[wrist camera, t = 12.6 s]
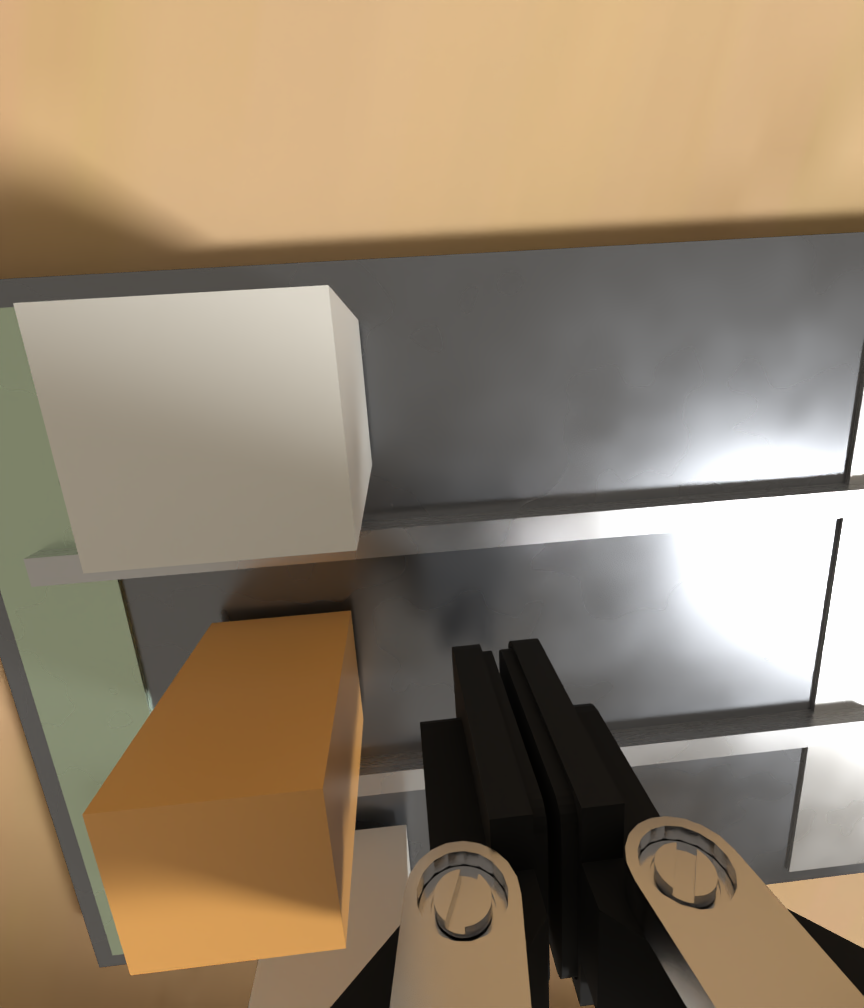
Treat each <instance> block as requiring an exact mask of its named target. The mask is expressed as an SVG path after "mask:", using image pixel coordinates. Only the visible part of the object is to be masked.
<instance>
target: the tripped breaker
mask: <svg viewBox="0 0 864 1008" xmlns="http://www.w3.org/2000/svg"><path fill="white" fill-rule="evenodd" d="M362 731H363V711H362V702H361V694H360V685H359V676H358V667H357V659H356V650H355V641H354V632H353V624H352V615H351V611H340V612H329V613H318V614H307V615H296V616H284V617H273V618H262V619H251V620H240V621H229V622H218V623H212V624H211V625H210V627H209V628H208V630H207V631H206V632H205V634H204V635H203V637H202V638H201V640H200V641H199V643H198V644H197V646H196V647H195V649H194V650H193V652H192V653H191V655H190V656H189V658H188V659H187V661H186V662H185V664H184V665H183V666H182V668H181V669H180V671H179V672H178V674H177V675H176V677H175V678H174V680H173V681H172V683H171V684H170V686H169V687H168V689H167V690H166V692H165V693H164V695H163V696H162V697H161V699H160V700H159V702H158V703H157V705H156V706H155V708H154V709H153V711H152V712H151V714H150V715H149V717H148V718H147V720H146V721H145V723H144V724H143V726H142V727H141V729H140V730H139V731H138V733H137V734H136V736H135V737H134V739H133V740H132V742H131V743H130V745H129V746H128V748H127V749H126V751H125V752H124V754H123V755H122V757H121V758H120V760H119V761H118V763H117V764H116V765H115V767H114V768H113V770H112V771H111V773H110V774H109V776H108V777H107V779H106V780H105V782H104V783H103V785H102V786H101V788H100V789H99V791H98V792H97V794H96V795H95V797H94V798H93V799H92V801H91V802H90V804H89V805H88V807H87V808H86V810H85V811H84V813H83V814H82V816H83V819H84V822H85V826H86V829H87V832H88V836H89V839H90V842H91V846H92V849H93V853H94V856H95V859H96V863H97V866H98V869H99V873H100V876H101V879H102V883H103V886H104V889H105V893H106V896H107V899H108V903H109V906H110V909H111V913H112V916H113V919H114V923H115V926H116V929H117V933H118V936H119V939H120V943H121V946H122V949H123V953H124V956H125V959H126V963H127V966H128V969H129V973H130V975H138V974H146V973H154V972H162V971H170V970H178V969H186V968H194V967H202V966H210V965H218V964H226V963H234V962H242V961H250V960H258V959H266V958H274V957H282V956H290V955H297V954H305V953H313V952H321V951H329V950H337V949H345V948H346V940H347V927H348V914H349V901H350V888H351V874H352V861H353V848H354V835H355V822H356V809H357V796H358V783H359V770H360V757H361V744H362Z"/></svg>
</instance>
